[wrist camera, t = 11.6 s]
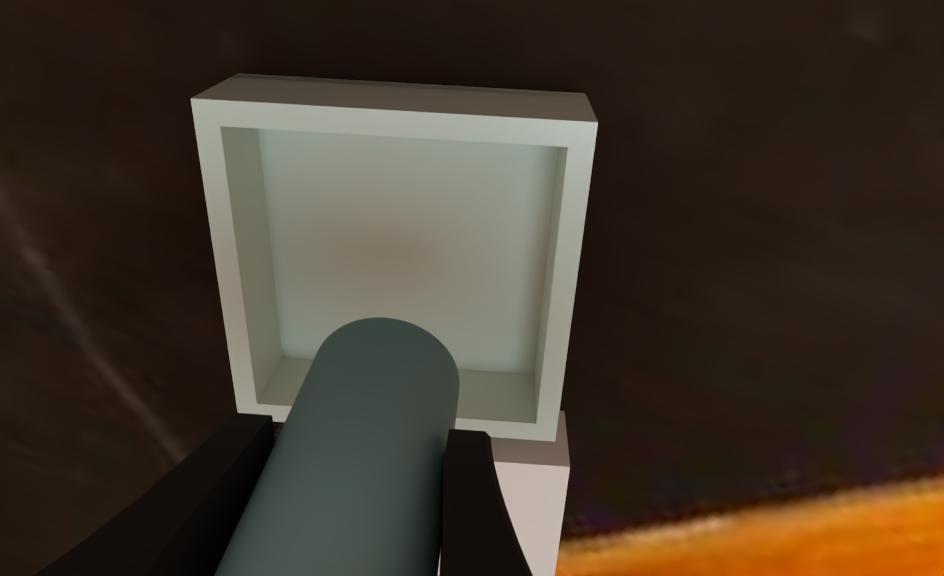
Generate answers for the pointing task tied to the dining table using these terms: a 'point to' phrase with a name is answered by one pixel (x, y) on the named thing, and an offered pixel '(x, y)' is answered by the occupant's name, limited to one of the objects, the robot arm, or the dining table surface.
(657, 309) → the dining table surface
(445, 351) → the dowel
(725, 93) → the dining table surface
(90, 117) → the dining table surface
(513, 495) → the pale grey box
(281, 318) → the tray
